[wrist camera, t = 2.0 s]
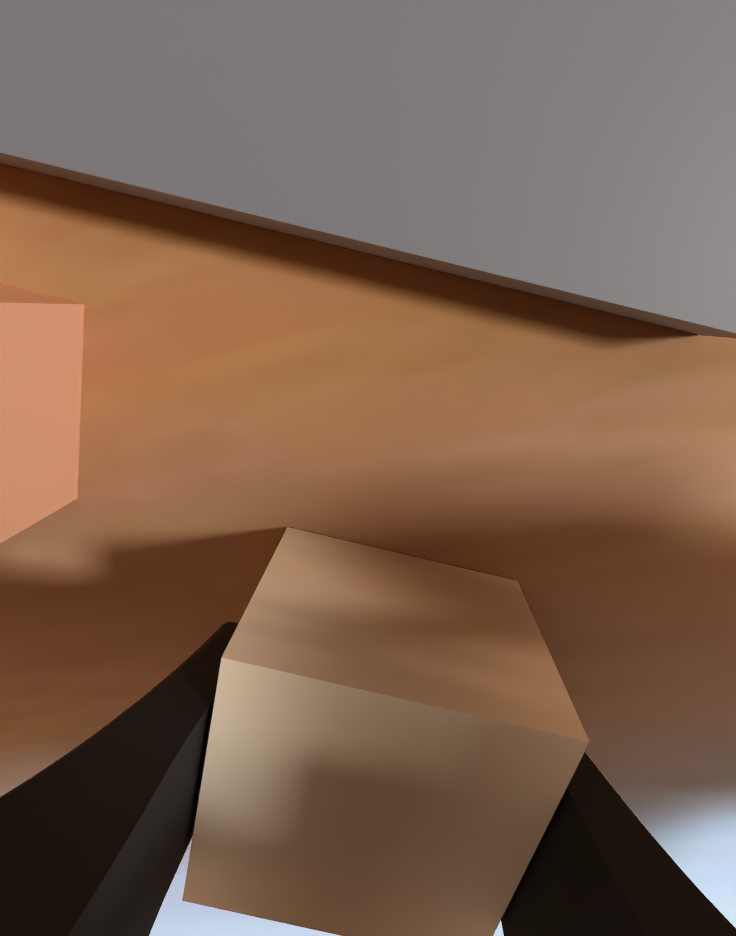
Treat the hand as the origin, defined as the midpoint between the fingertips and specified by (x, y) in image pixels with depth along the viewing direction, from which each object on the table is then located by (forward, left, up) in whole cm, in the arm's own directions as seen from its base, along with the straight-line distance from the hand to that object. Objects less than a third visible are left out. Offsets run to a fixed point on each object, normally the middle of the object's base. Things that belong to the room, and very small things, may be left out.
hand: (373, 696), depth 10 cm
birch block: (0, 0, -1) cm, 1 cm away
